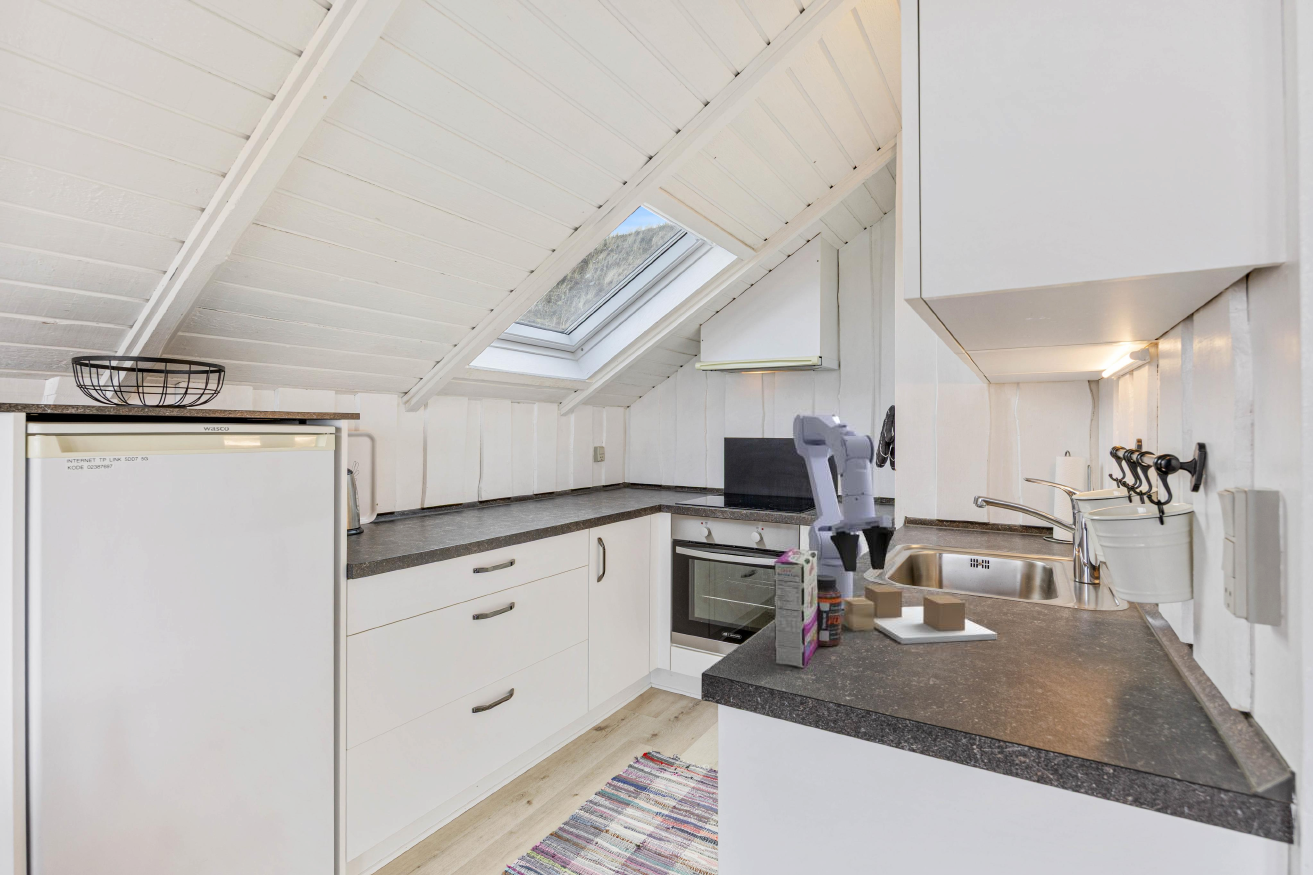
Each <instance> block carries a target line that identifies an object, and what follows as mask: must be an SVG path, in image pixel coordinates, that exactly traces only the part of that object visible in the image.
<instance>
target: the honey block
mask: <svg viewBox="0 0 1313 875" xmlns="http://www.w3.org/2000/svg"><path fill="white" fill-rule="evenodd" d="M844 624H845V625H846V626H845V625H844ZM843 625H844V626H845V627H847V626H848V627H849V628H848V627H847V628H848V629H850V628H851V629H852V630H851V629H850V630H851V631H853V632H860V631H861V630H865V631H874V630H875V627H874V603H873V602H871V601H869V600H867V599H866V598H865V597H853V598H844V609H843ZM859 630H860V631H859ZM861 632H862V631H861Z"/></svg>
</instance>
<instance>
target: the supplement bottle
mask: <svg viewBox="0 0 1313 875" xmlns="http://www.w3.org/2000/svg"><path fill="white" fill-rule="evenodd" d="M841 603H842V601H841V592H840V591H839V590H838V589H837V587H836V578H835V577H833V576H829V575H817V606H818V608H817V614H818V646H821V647H834V646H837V645H839V644H840V643H841V640H842V609H841Z"/></svg>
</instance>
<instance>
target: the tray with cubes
mask: <svg viewBox="0 0 1313 875" xmlns="http://www.w3.org/2000/svg"><path fill="white" fill-rule="evenodd" d="M864 598H866V599H867V600H869V601H871V602H873V603H874V628H876V629H878V630H879V631H881V633H884V634H885V635H887V636H888V637H890V638H892V639H894V640H896V642H899V643H900V644H901V645H905V644H907V645H908V644H928V643H943V642H944V643H948V642H964V641H965V642H967V641H969V642H970V641H985V640H987V641H988V640H998V633H997V632H995V631H993V630H991V629H988V628H986V627H984V626H982V625H980V624H977V623H975V622H973V621H971V620H969V619H967V618H966V602H965V601H963V600H960V599H958V598H956V597H953V596H951V595H947V594H946V595H923V604H922V606H903V591H902V590H900V589H898V588H896V587H894V586H892V585H889V584H882V585H881V584H877V585H876V584H875V585H864Z"/></svg>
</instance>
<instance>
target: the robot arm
mask: <svg viewBox="0 0 1313 875" xmlns="http://www.w3.org/2000/svg"><path fill="white" fill-rule="evenodd" d="M793 418H794V419H793V422H792V437H793V442H794V445H795V446H794V447H795V449H796V452H797V454H798V455H799V456H801V457H803V459H804V461H805V465H806V466H805V467H806V469H807V473H808V478H809V483H810V486H811V487H810V488H811V492H812V497H813V501H814V506H815V510H816V515H817V519H816V520H815V521H814V522H812V523H811V525H810V527H809V530H808V534H807V535H808V550H810V551H817V575H829V576H833V577H835V578H836V587H837V589H838V590H839V591H840V592H841V601H842V603H841V610H844V598H854V597H853V592H854V591H853V590H854V589H853V588H854V587H853V585H854V582H853V578H854V577H853V576H854V575H853V573H855V572H857V565H858V564H857V561H858V560H859V559H860V557H862V554H863V541H862V538H861V535H860V534H859V533H858V532H862V534H863V536H864V539H865V542H866V545H867V549H868V552H869V553H868V554H869V560H870V566H871V568H872V570H877V571H879V570H885V565H886V559H887V558H886V557H887V554H888V550H889V545H890V543H891V541H892V538H893V537H894V534H895V533H894V532H895V531H894V530H893V529H889V528H892V527H893V524H892V522H893V521H892V516H891V515H878V516H876V511H875V498H874V490H873V489H874V488H873V477H872V469H871V468H872V467H871V465H872V464H873V462H874V459H875V444H874V440H873V438H872V437H871V436H870V435H869V434H865V435H863V436H860V435H858V434H857V433H856V432H855V430H852V429H851V428H849V427H848V424H847V423H843V422H842V423H841V421H840V418H839V416H838V415H837V414H825V415H824V414H797V415H796V416H795V417H793ZM832 456H833V459H834V463H835V465H836V471H837V472H836V473H837V474H838V475H839V476H840V477H839V478H840V488H841V491H840V492H841V500H842V502H841V503H842V514H843V515H842V514H841V510H840V507H839V506H840V505H839V502H838V498H837V493H836V489H835V485H834V481H833V476H832V473H831V470H830V465H829V461H828V459H829V458H830V457H832Z"/></svg>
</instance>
